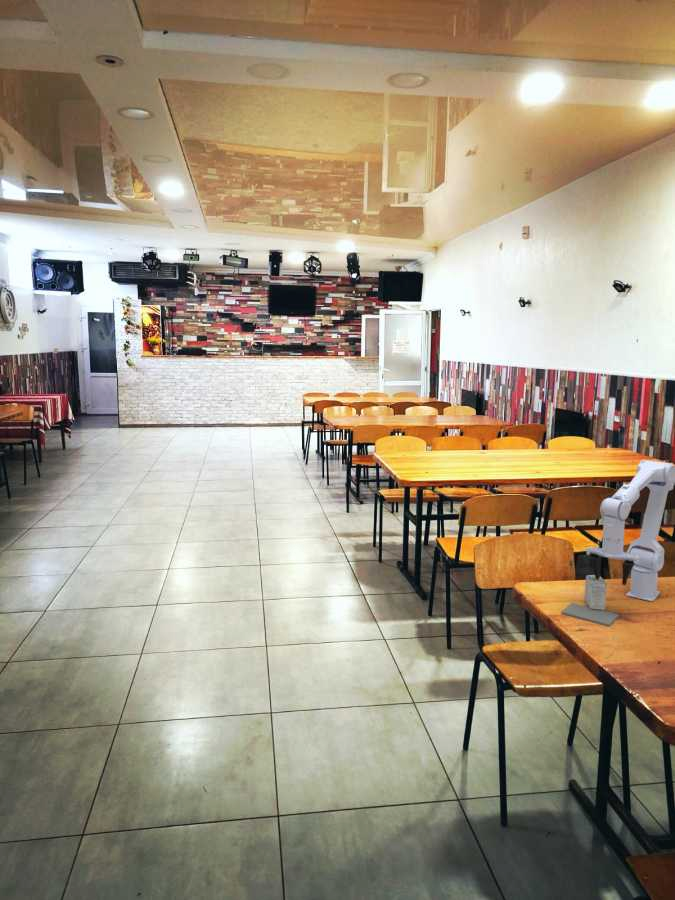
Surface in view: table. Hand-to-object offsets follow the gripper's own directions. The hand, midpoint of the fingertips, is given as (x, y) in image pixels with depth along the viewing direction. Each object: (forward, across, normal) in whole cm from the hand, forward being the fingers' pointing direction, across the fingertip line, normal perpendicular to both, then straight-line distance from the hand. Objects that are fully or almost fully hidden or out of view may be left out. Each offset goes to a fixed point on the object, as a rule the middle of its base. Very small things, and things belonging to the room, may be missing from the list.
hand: (610, 581), depth 181 cm
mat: (+10, -4, -7) cm, 12 cm away
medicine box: (+9, -4, 0) cm, 10 cm away
